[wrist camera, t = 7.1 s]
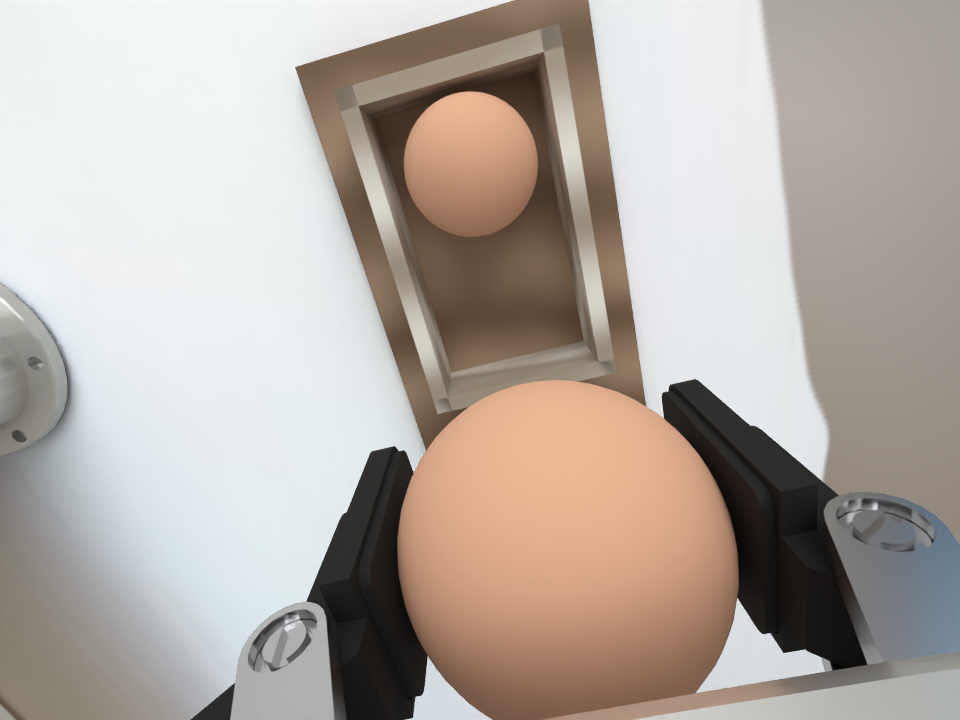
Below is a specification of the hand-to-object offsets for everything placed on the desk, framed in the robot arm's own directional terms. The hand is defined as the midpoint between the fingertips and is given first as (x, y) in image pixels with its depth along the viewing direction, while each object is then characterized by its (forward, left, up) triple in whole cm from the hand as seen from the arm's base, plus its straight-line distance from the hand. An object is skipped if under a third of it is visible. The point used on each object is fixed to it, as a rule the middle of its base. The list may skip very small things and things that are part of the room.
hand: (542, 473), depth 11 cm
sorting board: (-1, -1, -17) cm, 18 cm away
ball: (+5, +5, -13) cm, 15 cm away
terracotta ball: (0, 0, +2) cm, 2 cm away
